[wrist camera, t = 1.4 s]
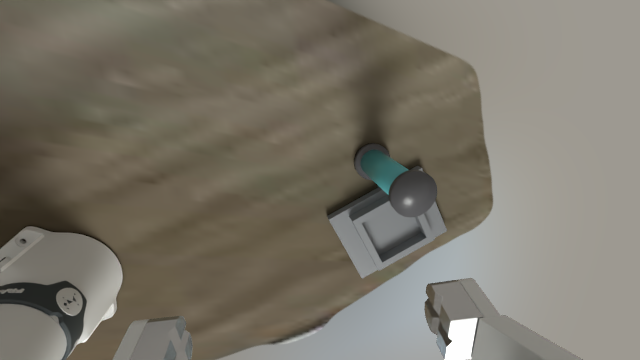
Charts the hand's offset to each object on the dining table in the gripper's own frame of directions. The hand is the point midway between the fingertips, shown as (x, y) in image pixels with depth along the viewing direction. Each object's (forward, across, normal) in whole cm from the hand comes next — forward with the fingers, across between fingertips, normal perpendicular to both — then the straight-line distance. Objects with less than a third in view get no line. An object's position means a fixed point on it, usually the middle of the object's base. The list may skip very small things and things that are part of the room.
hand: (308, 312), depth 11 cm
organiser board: (+42, +15, -26) cm, 51 cm away
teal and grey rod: (+43, +12, -14) cm, 47 cm away
